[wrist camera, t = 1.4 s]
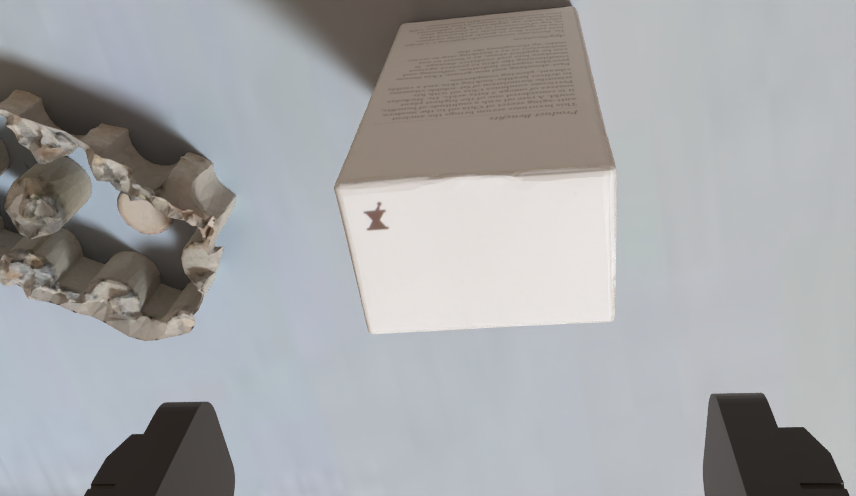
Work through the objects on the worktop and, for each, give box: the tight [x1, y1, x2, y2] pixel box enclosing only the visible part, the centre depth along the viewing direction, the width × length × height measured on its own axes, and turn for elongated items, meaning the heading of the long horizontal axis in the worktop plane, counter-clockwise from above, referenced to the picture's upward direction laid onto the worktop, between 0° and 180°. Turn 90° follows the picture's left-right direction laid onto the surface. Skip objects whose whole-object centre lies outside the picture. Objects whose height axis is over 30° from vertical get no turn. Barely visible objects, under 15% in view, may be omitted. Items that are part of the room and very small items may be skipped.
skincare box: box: [334, 6, 616, 334], centre depth 23 cm, size 6×4×12 cm
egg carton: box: [0, 90, 236, 341], centre depth 31 cm, size 11×8×4 cm
